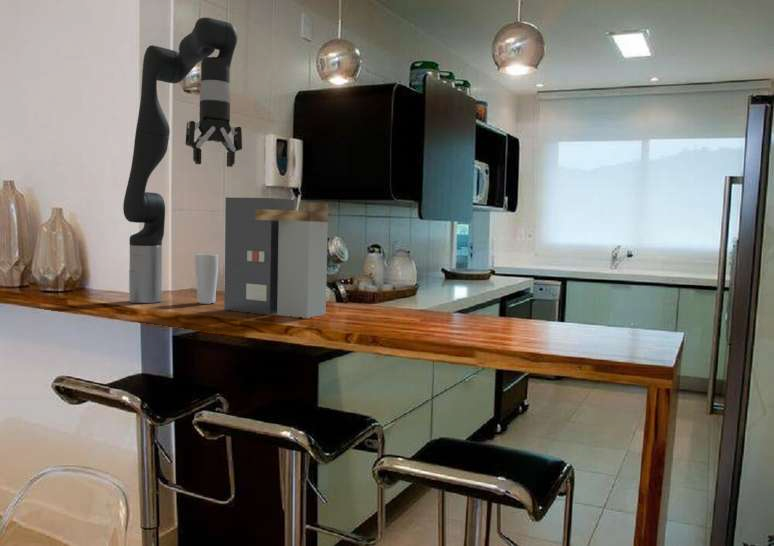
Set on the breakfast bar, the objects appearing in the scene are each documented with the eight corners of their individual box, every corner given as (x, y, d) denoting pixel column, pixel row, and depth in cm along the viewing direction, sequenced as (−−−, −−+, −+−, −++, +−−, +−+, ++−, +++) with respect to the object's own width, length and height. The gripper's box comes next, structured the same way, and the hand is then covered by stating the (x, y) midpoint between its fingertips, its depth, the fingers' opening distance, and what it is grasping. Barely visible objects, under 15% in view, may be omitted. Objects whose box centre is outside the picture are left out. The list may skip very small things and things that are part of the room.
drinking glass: (214, 304, 195) (214, 255, 193) (191, 304, 195) (192, 254, 194) (220, 302, 201) (220, 254, 200) (198, 301, 202) (199, 253, 200)
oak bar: (257, 219, 169) (258, 200, 169) (254, 219, 174) (254, 201, 174) (327, 221, 176) (328, 203, 176) (322, 221, 181) (323, 203, 181)
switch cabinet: (222, 310, 184) (223, 197, 181) (248, 306, 194) (249, 199, 191) (267, 315, 176) (269, 197, 174) (292, 311, 187) (294, 199, 184)
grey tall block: (277, 315, 178) (278, 220, 176) (296, 311, 186) (298, 220, 184) (307, 318, 173) (309, 221, 171) (325, 314, 181) (327, 221, 179)
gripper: (234, 106, 171) (233, 168, 173) (182, 98, 162) (181, 163, 164) (247, 103, 166) (246, 167, 167) (193, 95, 157) (192, 162, 158)
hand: (214, 165), depth 165 cm, fingers open, 8 cm apart
